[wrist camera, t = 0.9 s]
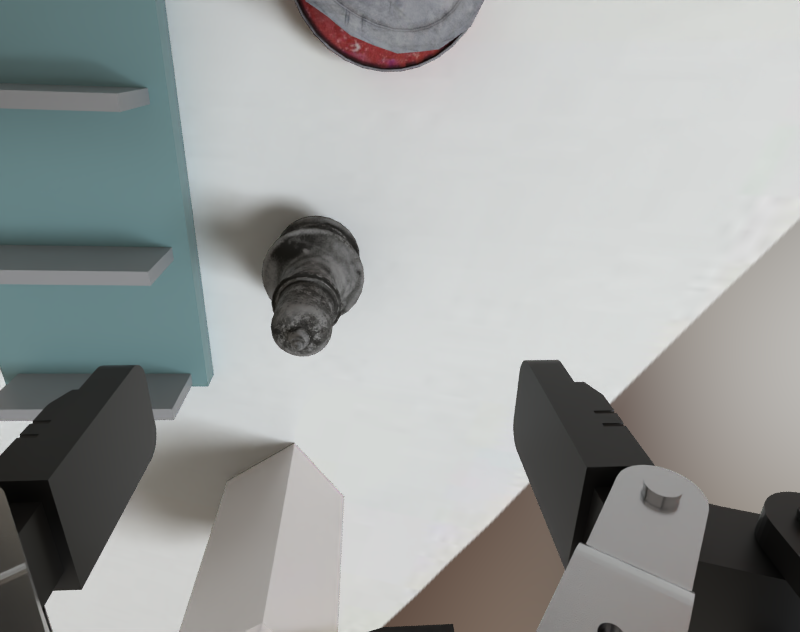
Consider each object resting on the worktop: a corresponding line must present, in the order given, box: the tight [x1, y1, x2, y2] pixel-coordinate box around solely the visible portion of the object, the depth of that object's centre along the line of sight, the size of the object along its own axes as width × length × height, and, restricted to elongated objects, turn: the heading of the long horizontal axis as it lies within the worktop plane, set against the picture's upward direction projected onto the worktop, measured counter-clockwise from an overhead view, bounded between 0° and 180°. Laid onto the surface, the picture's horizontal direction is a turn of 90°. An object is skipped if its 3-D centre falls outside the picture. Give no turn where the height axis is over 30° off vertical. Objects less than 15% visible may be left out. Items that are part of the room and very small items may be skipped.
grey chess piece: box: [262, 216, 364, 356], centre depth 30 cm, size 6×6×12 cm
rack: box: [0, 0, 214, 421], centre depth 30 cm, size 28×13×6 cm, turn 178°
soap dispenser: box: [179, 443, 344, 632], centre depth 34 cm, size 6×9×22 cm
